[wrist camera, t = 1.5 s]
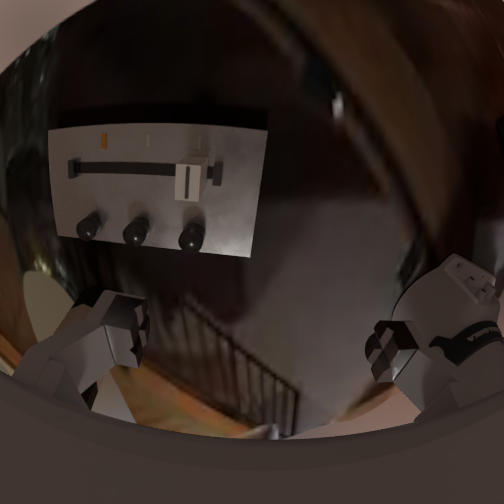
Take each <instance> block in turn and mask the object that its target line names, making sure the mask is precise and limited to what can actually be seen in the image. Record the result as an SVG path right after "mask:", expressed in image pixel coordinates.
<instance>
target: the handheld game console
mask: <svg viewBox="0 0 504 504" xmlns="http://www.w3.org/2000/svg"><path fill="white" fill-rule="evenodd" d="M497 130H498V133H499V137H500V140H501V144H502V148H503V152H504V116H503V117H501V118H500V119H499V120H498V122H497Z"/></svg>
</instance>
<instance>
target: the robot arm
mask: <svg viewBox="0 0 504 504" xmlns="http://www.w3.org/2000/svg"><path fill="white" fill-rule="evenodd" d="M494 285H495V277H494V276H493V274H491V273H490V272H488V271H486V270H484V269H483V268H481V267H479V266H477V265H476V264H474V263H472V262H470V261H468V260H467V259H465V258H463V257H461V256H459V255H457V254H452V255H450V256H449V257H448V258H447V259H446V260H445V261H444V262H443V263H442V264H441V265H440V266H439V267H437V268H436V269H434V270H432V271H430V272H429V273H427V274H425V275H424V276H422V277H421V278H419V279H418V280H417V281H416V282H415V283H414V284H412V285H411V286H410V287H409V289H408V290H407V291H406V292H405V293H404V294H403V296H402V297H401V299H400V300H399V302H398V304H397V305H396V308H395V310H394V312H393V316H392V321H387V320H380V321H379V322H378V323H377V324H376V325H375V327H374V331H375V333H374V334H372V335H371V336H370V337H369V338H368V340H367V342H366V345H365V355H366V358H367V360H368V361H369V362H370V363H371V364H372V367H371V371H372V374H373V376H374V379H375V382H376V383H378V382H391V381H394V383H395V385H396V386H397V387H398V388H399V389H400V390H401V391H402V392H403V393H404V394H405V395H406V396H407V397H408V398H409V399H410V400H411V401H412V402H413V404H414V405H416V407H417V408H418V409H419V410H420V411H421V413H420V414H419V415H418V416H417V417H416V418H415V420H414V422H413V423H409V424H405V425H400V426H396V427H392V428H387V429H381V430H377V431H370V432H365V433H358V434H351V435H344V436H335V437H324V438H311V439H292V440H291V439H290V440H255V439H234V438H221V437H211V436H202V435H194V434H187V433H180V432H174V431H168V430H163V429H158V428H153V427H148V426H144V425H139V424H135V423H131V422H127V421H123V420H119V419H116V418H112V417H109V416H106V415H102V414H99V413H95V412H93V411H90V410H89V408H88V406H87V404H86V403H85V401H84V399H83V398H82V396H81V393H82V392H84V391H85V390H86V389H87V388H88V387H89V386H91V385H92V384H93V383H94V382H95V381H97V380H98V379H99V378H100V377H101V376H103V375H104V374H105V373H106V372H107V371H108V370H110V369H111V368H112V367H113V366H114V365H115V364H119V365H124V366H129V367H134V368H139V365H140V362H141V359H142V356H143V348H142V346H144V345H145V344H147V341H148V338H149V333H150V317H149V316H148V315H147V314H146V313H147V310H148V308H149V306H148V299H147V298H145V297H139V296H134V295H129V294H125V293H120V292H119V293H118V292H114V291H109V290H105V291H103V293H102V294H101V296H100V297H99V299H98V300H97V302H96V304H95V305H94V307H93V308H92V310H91V312H90V313H89V315H88V316H87V318H86V320H85V321H84V320H80V321H78V322H76V323H74V324H73V325H71V326H69V327H67V328H65V329H63V330H61V331H59V332H58V333H56V334H54V335H52V336H50V337H49V338H47V339H45V340H43V341H41V342H39V343H37V344H36V345H34V346H32V347H30V348H28V350H27V351H26V353H25V355H24V356H23V358H22V360H21V361H20V363H19V365H18V366H17V368H16V370H15V372H14V373H13V375H12V377H11V376H9V375H7V374H5V373H4V372H2V371H0V504H504V337H502V335H501V331H500V329H499V328H498V325H497V320H498V316H499V311H500V302H499V300H498V299H497V298H496V296H495V295H494V293H495V291H496V288H495V287H494Z"/></svg>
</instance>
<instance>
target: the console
mask: <svg viewBox="0 0 504 504" xmlns="http://www.w3.org/2000/svg"><path fill="white" fill-rule="evenodd" d="M267 133H268V131H267V130H263V129H255V128H247V127H237V126H227V125H215V124H199V123H175V122H132V123H109V124H94V125H83V126H73V127H64V128H57V129H53V130H49V131H48V147H49V169H50V182H51V192H52V201H53V209H54V216H55V222H56V228H57V234H58V236H66V237H75V238H80V239H81V240H83V241H86V242H88V241H91V240H101V241H109V242H118V243H126V244H127V245H129V246H131V247H139V246H140V245H144V246H153V247H162V248H171V249H180V250H183V251H184V252H186V253H189V254H194V253H197V252H207V253H216V254H225V255H234V256H243V257H250V254H251V246H252V239H253V232H254V225H255V218H256V211H257V204H258V197H259V189H260V182H261V175H262V168H263V161H264V154H265V147H266V140H267ZM186 156H196V157H209V159H208V170H207V183H206V190H205V191H204V193H203V195H202V197H201V198H200V200H199V202H195V201H183V200H175V177H176V164H177V163H178V162H179V161H181V160H182V159H184V158H185V157H186Z"/></svg>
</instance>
